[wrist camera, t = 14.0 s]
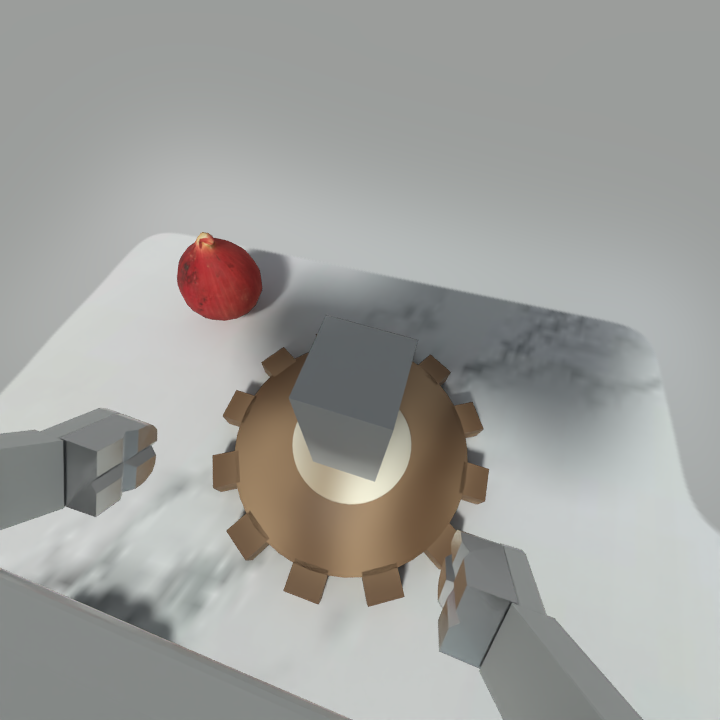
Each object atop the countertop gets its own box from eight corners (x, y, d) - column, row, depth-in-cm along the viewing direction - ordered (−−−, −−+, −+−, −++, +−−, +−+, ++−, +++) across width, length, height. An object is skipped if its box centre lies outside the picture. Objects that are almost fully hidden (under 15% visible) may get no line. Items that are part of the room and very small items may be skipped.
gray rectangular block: (391, 421, 23) (418, 339, 14) (375, 481, 21) (393, 430, 12) (334, 404, 23) (326, 314, 15) (313, 461, 21) (288, 397, 13)
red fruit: (216, 352, 27) (171, 282, 20) (189, 303, 30) (139, 226, 23) (282, 319, 29) (261, 244, 22) (251, 275, 31) (223, 196, 24)
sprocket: (494, 375, 27) (503, 363, 25) (456, 653, 19) (467, 663, 17) (284, 317, 29) (281, 302, 27) (166, 542, 21) (151, 541, 19)
